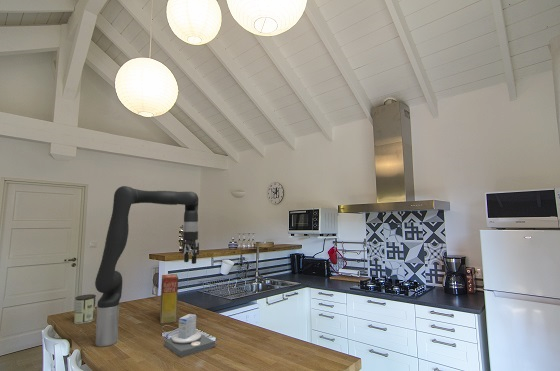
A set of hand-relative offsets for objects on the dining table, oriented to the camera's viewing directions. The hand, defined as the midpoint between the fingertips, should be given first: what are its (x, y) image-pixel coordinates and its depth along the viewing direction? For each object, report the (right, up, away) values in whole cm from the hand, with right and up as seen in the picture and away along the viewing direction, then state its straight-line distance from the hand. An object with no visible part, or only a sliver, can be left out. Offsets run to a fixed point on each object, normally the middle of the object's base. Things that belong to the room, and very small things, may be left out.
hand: (190, 262), depth 159 cm
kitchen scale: (+4, -34, -16) cm, 38 cm away
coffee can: (-69, -40, +24) cm, 83 cm away
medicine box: (+3, -31, -13) cm, 34 cm away
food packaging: (-20, -40, +24) cm, 51 cm away
